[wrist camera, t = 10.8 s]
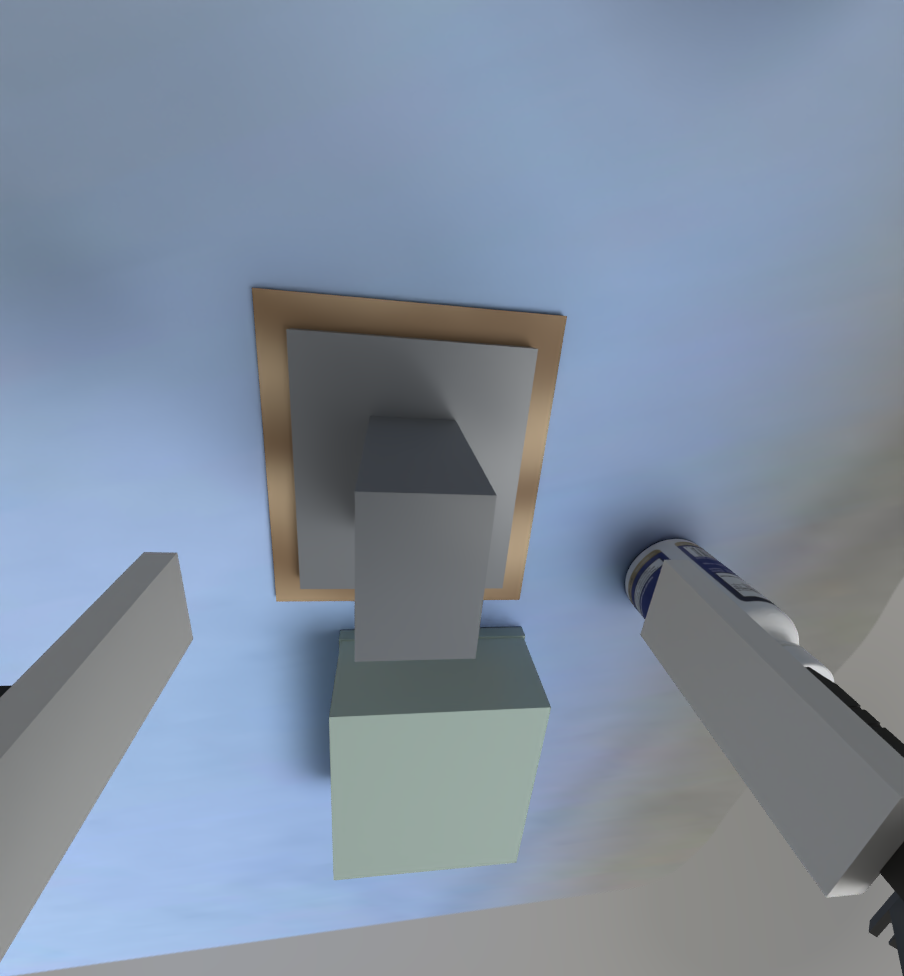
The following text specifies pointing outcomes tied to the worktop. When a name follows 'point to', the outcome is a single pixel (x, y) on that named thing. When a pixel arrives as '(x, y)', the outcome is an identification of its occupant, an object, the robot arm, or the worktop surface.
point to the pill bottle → (746, 597)
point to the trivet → (404, 321)
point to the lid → (407, 480)
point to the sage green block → (433, 757)
